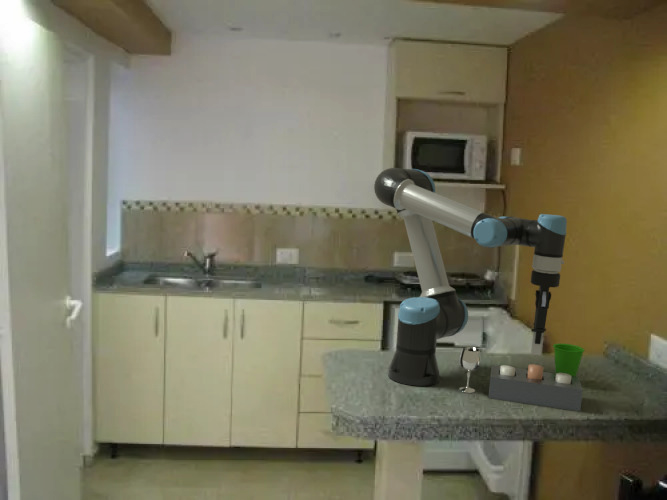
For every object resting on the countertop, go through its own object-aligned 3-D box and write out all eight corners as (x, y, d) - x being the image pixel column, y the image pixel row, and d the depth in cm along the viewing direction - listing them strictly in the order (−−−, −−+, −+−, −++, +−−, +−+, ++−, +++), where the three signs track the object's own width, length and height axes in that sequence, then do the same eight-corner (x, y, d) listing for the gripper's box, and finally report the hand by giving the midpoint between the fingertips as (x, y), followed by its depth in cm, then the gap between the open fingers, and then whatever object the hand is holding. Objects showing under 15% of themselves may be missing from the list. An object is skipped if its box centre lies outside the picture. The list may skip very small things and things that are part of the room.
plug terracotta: (526, 391, 181) (528, 367, 180) (525, 387, 185) (528, 363, 184) (541, 393, 180) (543, 369, 179) (540, 389, 184) (543, 365, 183)
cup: (582, 389, 193) (587, 353, 191) (551, 385, 195) (555, 349, 193) (577, 379, 202) (581, 345, 200) (547, 376, 203) (551, 342, 202)
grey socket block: (488, 397, 180) (490, 376, 179) (489, 384, 191) (491, 364, 190) (580, 411, 174) (582, 389, 173) (575, 397, 185) (578, 376, 184)
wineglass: (465, 394, 181) (469, 352, 180) (452, 387, 186) (456, 347, 185) (481, 392, 184) (485, 351, 182) (468, 385, 189) (472, 345, 187)
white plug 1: (498, 392, 183) (500, 368, 182) (498, 388, 187) (500, 364, 186) (512, 394, 182) (515, 370, 181) (512, 390, 186) (515, 366, 185)
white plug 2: (553, 400, 179) (556, 376, 178) (553, 396, 183) (555, 372, 182) (569, 402, 178) (572, 378, 177) (567, 398, 182) (570, 374, 181)
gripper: (562, 276, 171) (551, 362, 174) (558, 269, 183) (548, 350, 186) (532, 272, 173) (522, 358, 176) (531, 266, 185) (521, 346, 188)
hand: (535, 354), depth 181 cm, fingers closed
